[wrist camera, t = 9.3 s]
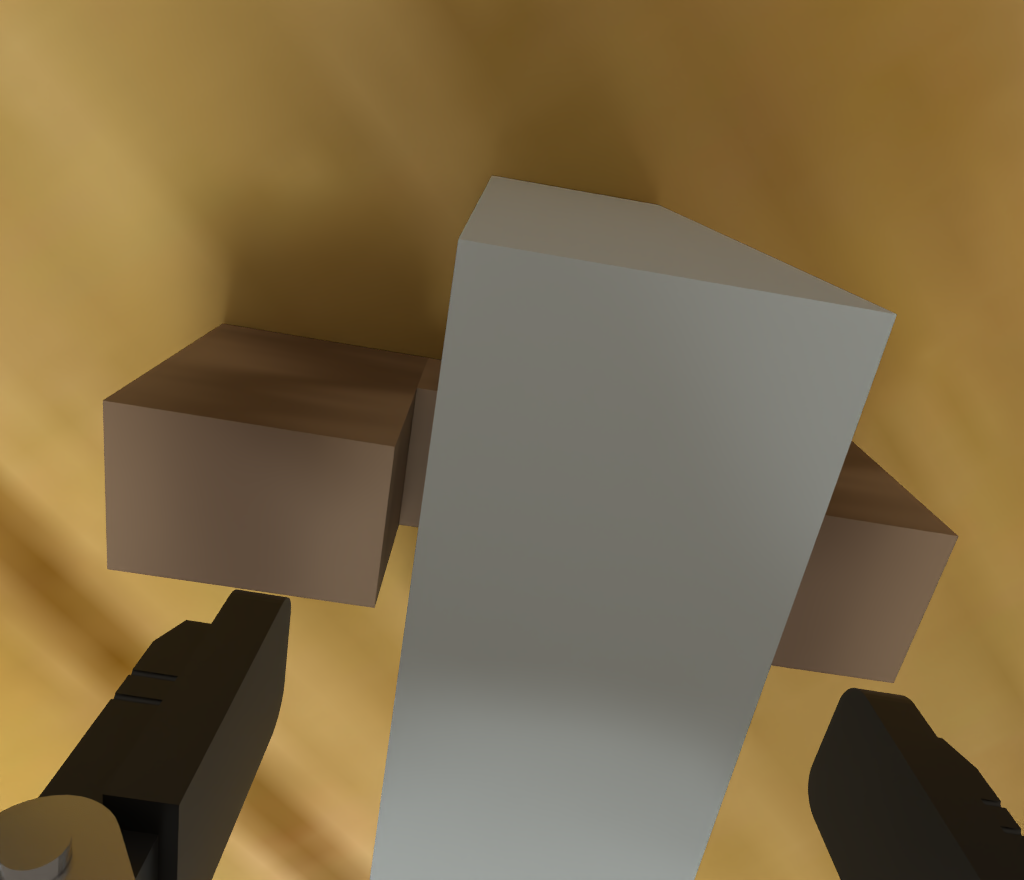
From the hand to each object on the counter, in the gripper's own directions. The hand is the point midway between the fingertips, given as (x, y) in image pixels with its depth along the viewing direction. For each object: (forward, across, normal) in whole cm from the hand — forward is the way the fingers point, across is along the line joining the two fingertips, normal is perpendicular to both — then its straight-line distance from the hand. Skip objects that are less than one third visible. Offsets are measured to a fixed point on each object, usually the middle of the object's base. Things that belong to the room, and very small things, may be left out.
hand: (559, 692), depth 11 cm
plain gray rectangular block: (+10, 0, 0) cm, 10 cm away
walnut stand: (+10, 0, 0) cm, 10 cm away
